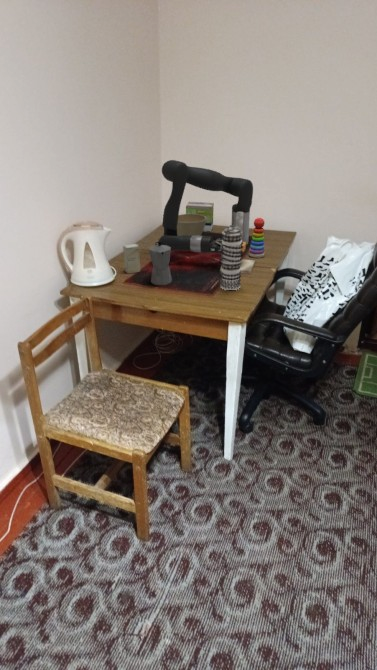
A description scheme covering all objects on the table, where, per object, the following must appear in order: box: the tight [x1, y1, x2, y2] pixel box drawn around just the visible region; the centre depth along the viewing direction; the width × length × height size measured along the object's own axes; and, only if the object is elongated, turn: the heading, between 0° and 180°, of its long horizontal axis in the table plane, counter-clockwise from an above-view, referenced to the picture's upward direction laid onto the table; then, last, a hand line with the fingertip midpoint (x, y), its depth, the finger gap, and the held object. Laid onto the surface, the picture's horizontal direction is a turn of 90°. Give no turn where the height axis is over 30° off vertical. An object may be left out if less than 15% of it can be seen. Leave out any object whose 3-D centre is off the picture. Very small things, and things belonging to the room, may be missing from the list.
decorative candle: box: [219, 226, 244, 291], centre depth 186 cm, size 9×9×25 cm
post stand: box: [219, 212, 256, 275], centre depth 206 cm, size 14×14×26 cm
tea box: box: [185, 201, 214, 233], centre depth 265 cm, size 15×10×15 cm, turn 80°
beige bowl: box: [177, 213, 206, 236], centre depth 247 cm, size 18×18×12 cm
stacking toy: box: [248, 217, 266, 259], centre depth 222 cm, size 8×8×19 cm
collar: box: [241, 242, 247, 253], centre depth 208 cm, size 6×6×3 cm
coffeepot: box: [148, 240, 173, 286], centre depth 195 cm, size 15×9×18 cm, turn 13°
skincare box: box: [122, 243, 141, 274], centre depth 207 cm, size 6×4×12 cm
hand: (235, 246), depth 208 cm, fingers open, 8 cm apart
